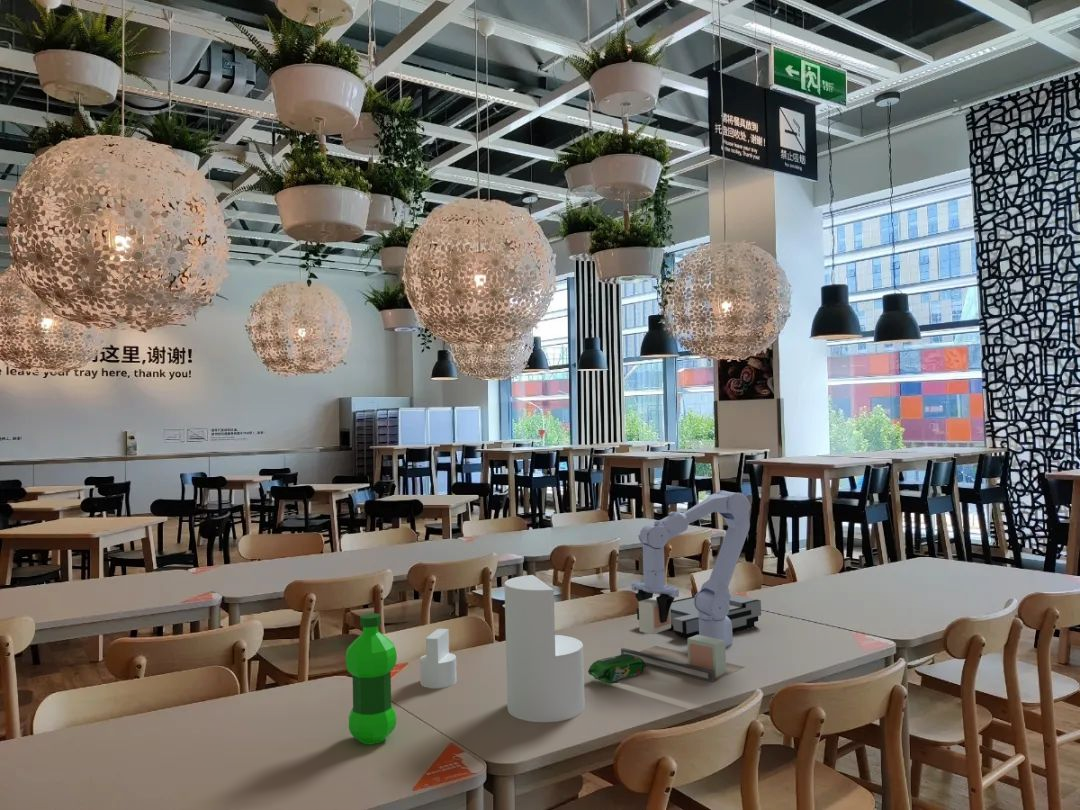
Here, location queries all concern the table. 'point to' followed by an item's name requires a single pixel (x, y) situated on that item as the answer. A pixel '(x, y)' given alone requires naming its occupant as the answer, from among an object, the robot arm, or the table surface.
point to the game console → (687, 616)
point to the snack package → (616, 668)
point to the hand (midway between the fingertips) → (655, 620)
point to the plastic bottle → (371, 682)
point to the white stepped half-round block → (438, 661)
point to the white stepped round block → (540, 656)
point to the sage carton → (707, 653)
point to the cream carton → (651, 617)
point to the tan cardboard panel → (677, 663)
